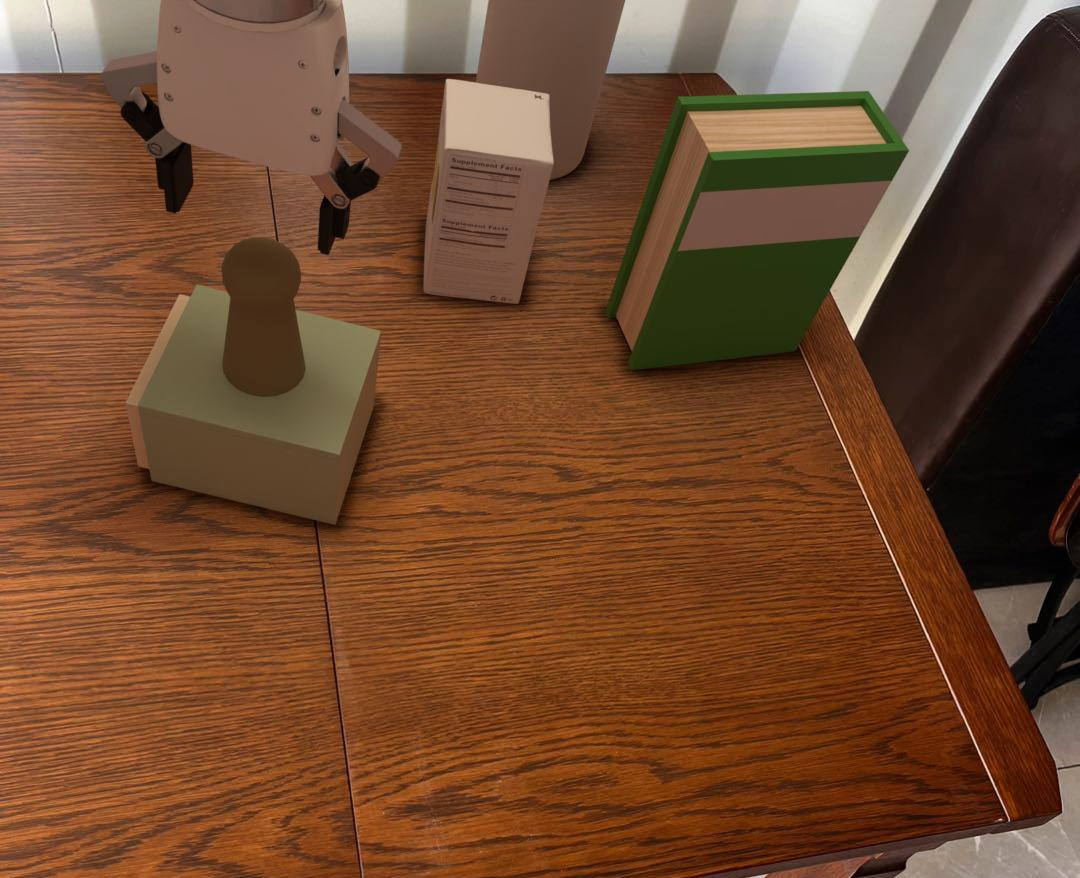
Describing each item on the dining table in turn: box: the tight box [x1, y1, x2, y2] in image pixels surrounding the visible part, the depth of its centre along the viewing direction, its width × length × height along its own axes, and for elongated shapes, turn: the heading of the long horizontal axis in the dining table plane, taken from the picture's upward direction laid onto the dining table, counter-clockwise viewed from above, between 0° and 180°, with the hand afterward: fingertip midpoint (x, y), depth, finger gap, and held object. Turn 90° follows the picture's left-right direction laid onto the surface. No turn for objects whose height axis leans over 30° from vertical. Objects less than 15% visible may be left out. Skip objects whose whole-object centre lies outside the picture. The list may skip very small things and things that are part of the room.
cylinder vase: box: [475, 0, 626, 181], centre depth 105 cm, size 12×12×25 cm
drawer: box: [125, 293, 191, 470], centre depth 85 cm, size 15×11×8 cm
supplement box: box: [423, 78, 554, 305], centre depth 97 cm, size 10×9×17 cm
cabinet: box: [138, 283, 382, 525], centre depth 85 cm, size 15×13×10 cm
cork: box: [221, 236, 306, 397], centre depth 76 cm, size 6×6×11 cm
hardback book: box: [605, 90, 910, 371], centre depth 95 cm, size 18×7×24 cm, turn 107°
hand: (255, 219), depth 69 cm, fingers open, 9 cm apart
